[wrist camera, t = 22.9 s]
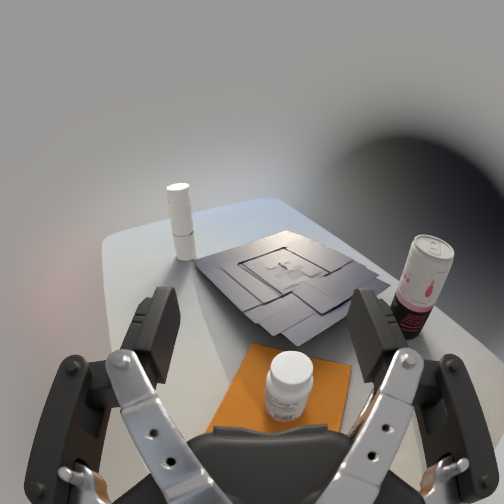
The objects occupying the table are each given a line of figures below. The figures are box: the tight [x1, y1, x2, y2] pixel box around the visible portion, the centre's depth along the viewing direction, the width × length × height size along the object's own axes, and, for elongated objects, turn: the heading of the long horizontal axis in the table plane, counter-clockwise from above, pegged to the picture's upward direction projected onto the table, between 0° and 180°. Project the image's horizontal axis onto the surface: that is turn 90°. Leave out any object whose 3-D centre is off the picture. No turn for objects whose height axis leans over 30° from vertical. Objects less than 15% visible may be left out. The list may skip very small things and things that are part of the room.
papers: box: [193, 230, 391, 347], centre depth 48 cm, size 24×30×4 cm
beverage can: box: [390, 235, 454, 339], centre depth 34 cm, size 7×6×15 cm
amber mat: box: [205, 343, 352, 433], centre depth 28 cm, size 16×14×1 cm
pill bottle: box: [265, 351, 313, 422], centre depth 26 cm, size 5×5×8 cm
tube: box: [167, 183, 197, 261], centre depth 53 cm, size 4×4×15 cm
